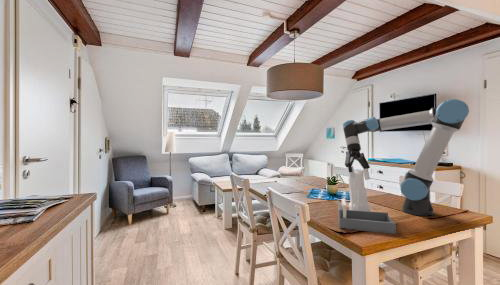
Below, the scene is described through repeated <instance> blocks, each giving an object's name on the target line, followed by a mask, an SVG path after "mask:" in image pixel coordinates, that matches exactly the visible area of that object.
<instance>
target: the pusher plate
mask: <svg viewBox="0 0 500 285" xmlns="http://www.w3.org/2000/svg"><path fill="white" fill-rule="evenodd" d="M341 209H342V210H341V212H342V218H346V210H347V202H346V199H345V198H341Z"/></svg>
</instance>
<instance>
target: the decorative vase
mask: <svg viewBox="0 0 500 285" xmlns="http://www.w3.org/2000/svg"><path fill="white" fill-rule="evenodd" d="M354 173H355V178H350V175H349V176H348V193H349V199H350V200H349V201H350V202H349V204H348V208H349V209H348V210H357V211H371V205H370V204H369V201H368V195H367V188H366V186H365V177H364V172H363V170H362V169H359V168H357V169H354Z"/></svg>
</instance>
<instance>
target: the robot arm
mask: <svg viewBox="0 0 500 285" xmlns="http://www.w3.org/2000/svg"><path fill="white" fill-rule="evenodd" d="M468 105H469V104H467V103H466V102H465V101H463V100H460V99H457V98H456V99H455V98H451V99H446V100H444V101H442V102H440V104H439V105H438V106H436V107H431V108H430V109H429V110H423V111H417V112H412V113H405V114H401V115H393V116H389V117H383V118H376V116H371V117H367V118H365V119H362V120H359V121H355V120H353V119H350V120H346V121H344V122H343V124H342V127H343V129H342V130H343V133H344V138H345V143H346V148H347V150H346V152H345V161H344V166H345V167H346V168H347V169H348V173H349V176H350V178H355V173H354V170H355V168H354V166H353V164H354V163H355V160H356V161H358V163H359V164H360V166H361V167H362V173H363V177H364V181H368V180H371V177H370V173H369V169H370V168H371V167H370V166H371V165H370V164H369V162H368V161H367V159H366V156H365V154H364V152H361V151H362V148H361V144H360V138H359V135H361V134H363V133H366V132H367V133H368V132H369V133H370V132H371V133H375V132H381V131H388V130H396V129H402V128H409V127H410V128H411V127H416V126H425V125H432V127H431V130H430V133H429V134H428V137H427V139H426V141H425V142H424V145H423V147H422V149H421V151H420V153H419V155H418V158H417V159H416V162H415V164H414V166H413V167H412V169H409V170H407V172H405V174H404V179H403V180H402V181H401V183H400V191H401V194H402V195H403V196H404V201H403V203H402V205H401V211H402V212H404V213H406V214H410V215H414V216H421V217H429V216H428V215H432V216H434V215H435V209H434V207H433V205H432V202H431V186H432V185H433V183H434V178H433V174H434V172H435V170H436V168H437V167H438V164H439V162H440V160H441V159H442V156H443V155H444V152H445V151H446V149H447V147H448V145H449V142H451V141H450V140H451V138H452V137H453V135H454V134H455V132H458V131H461V127H462V126H463V123H464V122H465V120H466V119H467V117H468V116H469V113H470V110H469V109H470V108H469V106H468ZM433 214H434V215H433Z"/></svg>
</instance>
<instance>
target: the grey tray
mask: <svg viewBox="0 0 500 285" xmlns="http://www.w3.org/2000/svg"><path fill="white" fill-rule="evenodd" d="M337 206H338V207H337V211H338V212H337V215H338V216H337V217H338V228H339V229H341V228H346V229H345V230H351V229H355V230H354V231H360V232H361V231H364V232H372V233H382V234H383V233H384V234H393V235H397V223H396V222H394V221H393V220H392V218H391V217H390V216H389V213H388V212H382V211H381V212H380V211H371V210H370V211H357V210H349V209H346V218H342V212H341V210H342V204H341V202H339V201H338V202H337Z"/></svg>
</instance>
